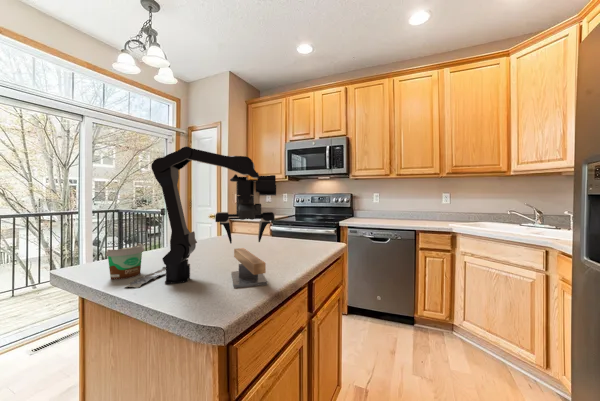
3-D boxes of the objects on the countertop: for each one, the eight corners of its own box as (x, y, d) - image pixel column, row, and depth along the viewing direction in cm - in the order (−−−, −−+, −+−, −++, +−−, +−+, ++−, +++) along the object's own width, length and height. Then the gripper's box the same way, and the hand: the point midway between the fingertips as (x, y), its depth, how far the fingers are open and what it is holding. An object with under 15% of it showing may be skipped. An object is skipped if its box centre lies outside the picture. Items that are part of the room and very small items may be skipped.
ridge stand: (233, 288, 77) (233, 271, 77) (231, 274, 90) (231, 260, 90) (267, 284, 80) (267, 268, 80) (260, 272, 93) (260, 258, 93)
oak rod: (253, 274, 74) (253, 264, 73) (234, 257, 95) (234, 248, 95) (265, 273, 75) (265, 262, 75) (243, 256, 96) (243, 247, 96)
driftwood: (136, 291, 76) (136, 284, 76) (116, 289, 77) (116, 282, 77) (179, 271, 97) (179, 266, 97) (163, 270, 98) (163, 265, 98)
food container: (120, 282, 82) (120, 251, 82) (106, 280, 84) (105, 249, 84) (152, 271, 94) (152, 244, 94) (139, 270, 96) (139, 243, 96)
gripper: (214, 195, 75) (215, 249, 76) (278, 195, 81) (277, 245, 81) (215, 195, 86) (215, 242, 86) (271, 195, 91) (271, 239, 92)
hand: (245, 242), depth 86 cm, fingers open, 9 cm apart
